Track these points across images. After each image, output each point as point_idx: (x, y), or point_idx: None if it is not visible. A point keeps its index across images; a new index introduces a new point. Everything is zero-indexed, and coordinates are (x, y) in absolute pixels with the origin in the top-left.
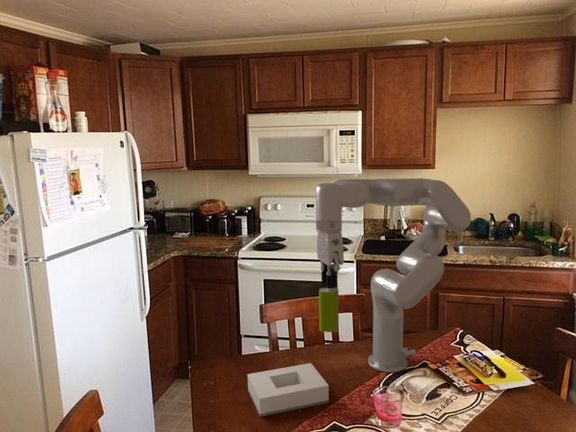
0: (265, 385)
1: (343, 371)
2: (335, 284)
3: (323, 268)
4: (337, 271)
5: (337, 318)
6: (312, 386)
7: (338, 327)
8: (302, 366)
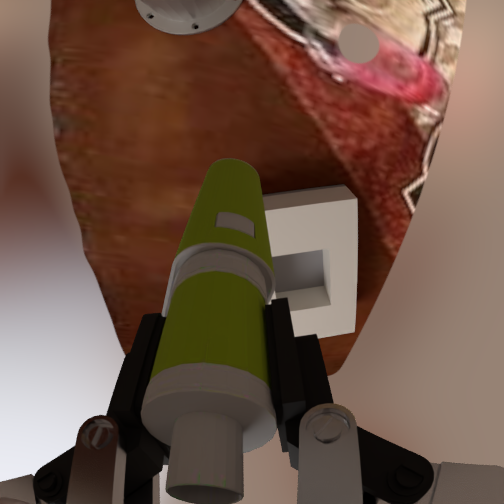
0: (312, 322)
1: (208, 109)
2: (316, 336)
3: (155, 483)
4: (417, 456)
5: (255, 186)
6: (350, 235)
7: (245, 165)
8: None
